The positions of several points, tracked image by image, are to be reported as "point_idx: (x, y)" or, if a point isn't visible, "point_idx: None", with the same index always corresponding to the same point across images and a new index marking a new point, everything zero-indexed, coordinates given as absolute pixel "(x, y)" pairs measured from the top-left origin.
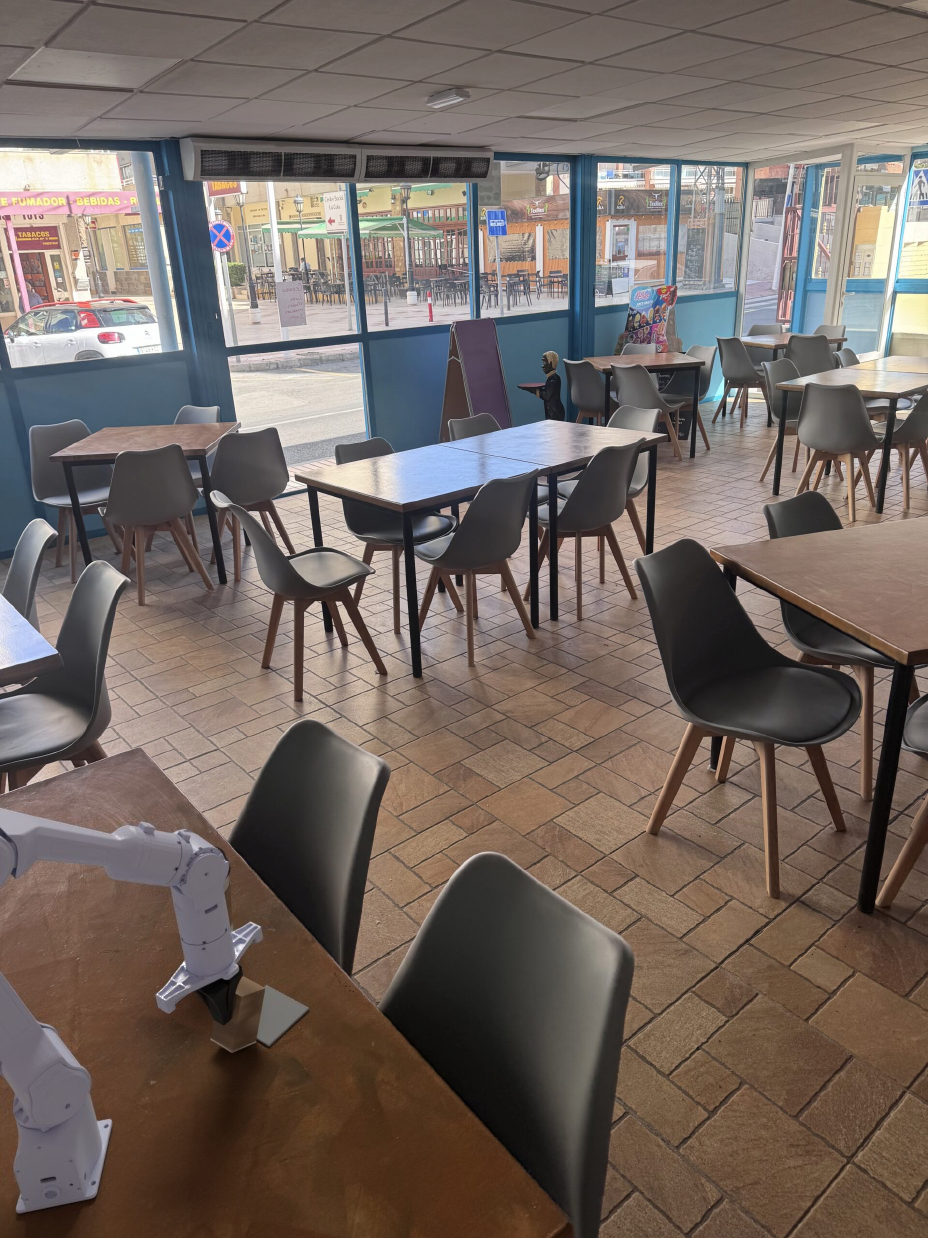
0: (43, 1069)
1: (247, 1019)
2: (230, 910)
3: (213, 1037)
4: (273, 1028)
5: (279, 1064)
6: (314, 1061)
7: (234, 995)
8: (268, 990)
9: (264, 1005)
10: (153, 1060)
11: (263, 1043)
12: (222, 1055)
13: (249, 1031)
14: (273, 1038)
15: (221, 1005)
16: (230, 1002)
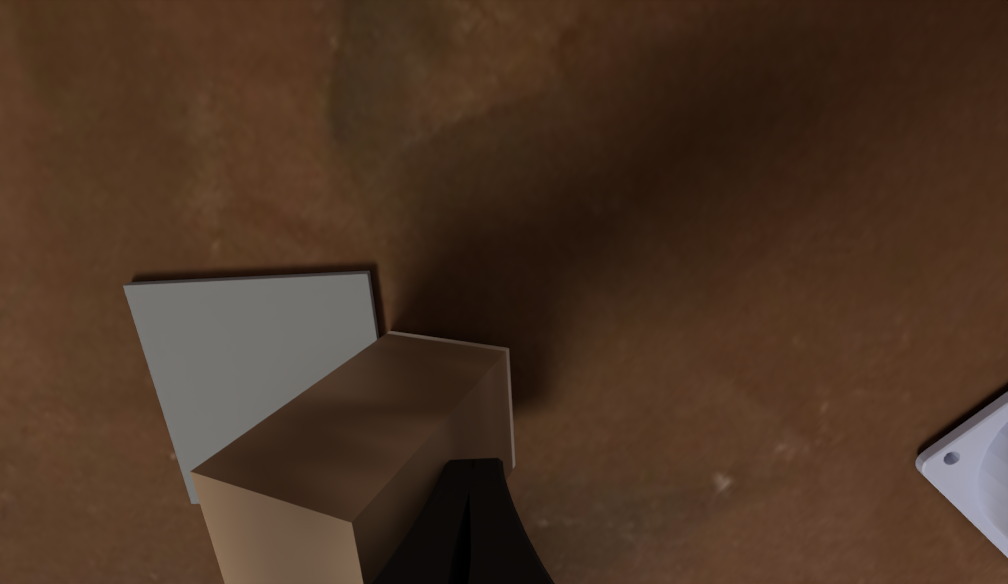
0: None
1: (381, 405)
2: None
3: (508, 461)
4: (300, 324)
5: (397, 163)
6: (280, 33)
7: (389, 567)
8: None
9: None
10: (658, 544)
11: (373, 303)
12: None
13: (397, 366)
14: (331, 285)
15: (514, 568)
16: (433, 542)
